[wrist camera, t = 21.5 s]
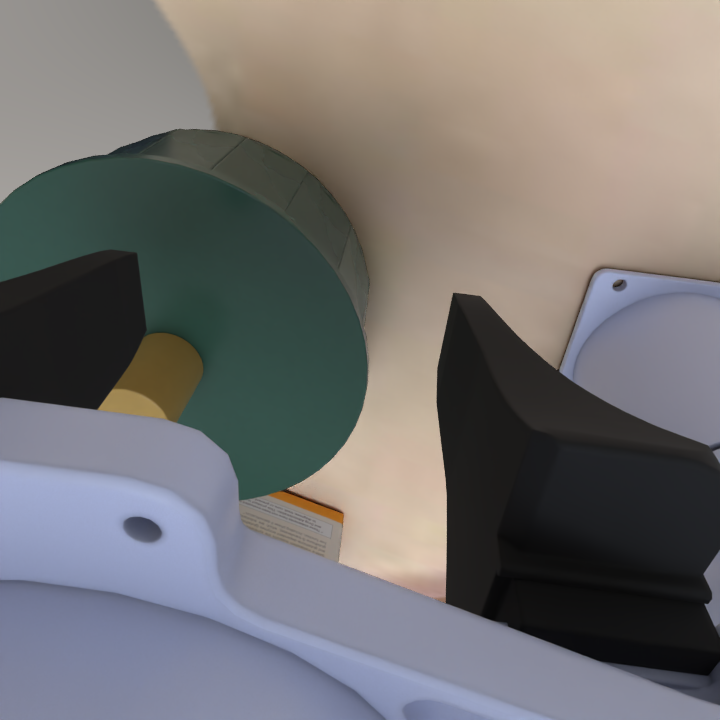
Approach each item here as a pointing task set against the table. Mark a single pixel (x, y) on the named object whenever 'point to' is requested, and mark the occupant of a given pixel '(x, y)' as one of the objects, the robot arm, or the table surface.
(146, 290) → the lid
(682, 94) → the table surface
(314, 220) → the tin
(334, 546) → the supplement box
